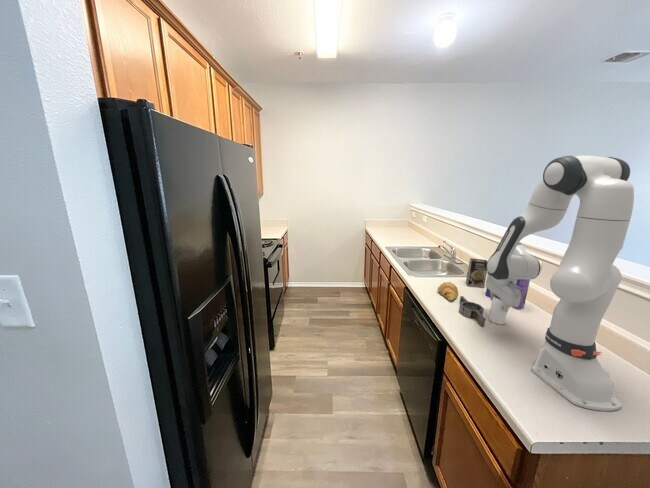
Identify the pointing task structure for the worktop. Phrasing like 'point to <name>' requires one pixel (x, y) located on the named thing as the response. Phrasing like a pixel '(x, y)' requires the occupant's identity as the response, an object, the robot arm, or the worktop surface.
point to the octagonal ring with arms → (477, 316)
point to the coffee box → (476, 273)
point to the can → (497, 311)
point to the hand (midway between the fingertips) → (498, 305)
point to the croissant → (448, 291)
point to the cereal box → (523, 288)
